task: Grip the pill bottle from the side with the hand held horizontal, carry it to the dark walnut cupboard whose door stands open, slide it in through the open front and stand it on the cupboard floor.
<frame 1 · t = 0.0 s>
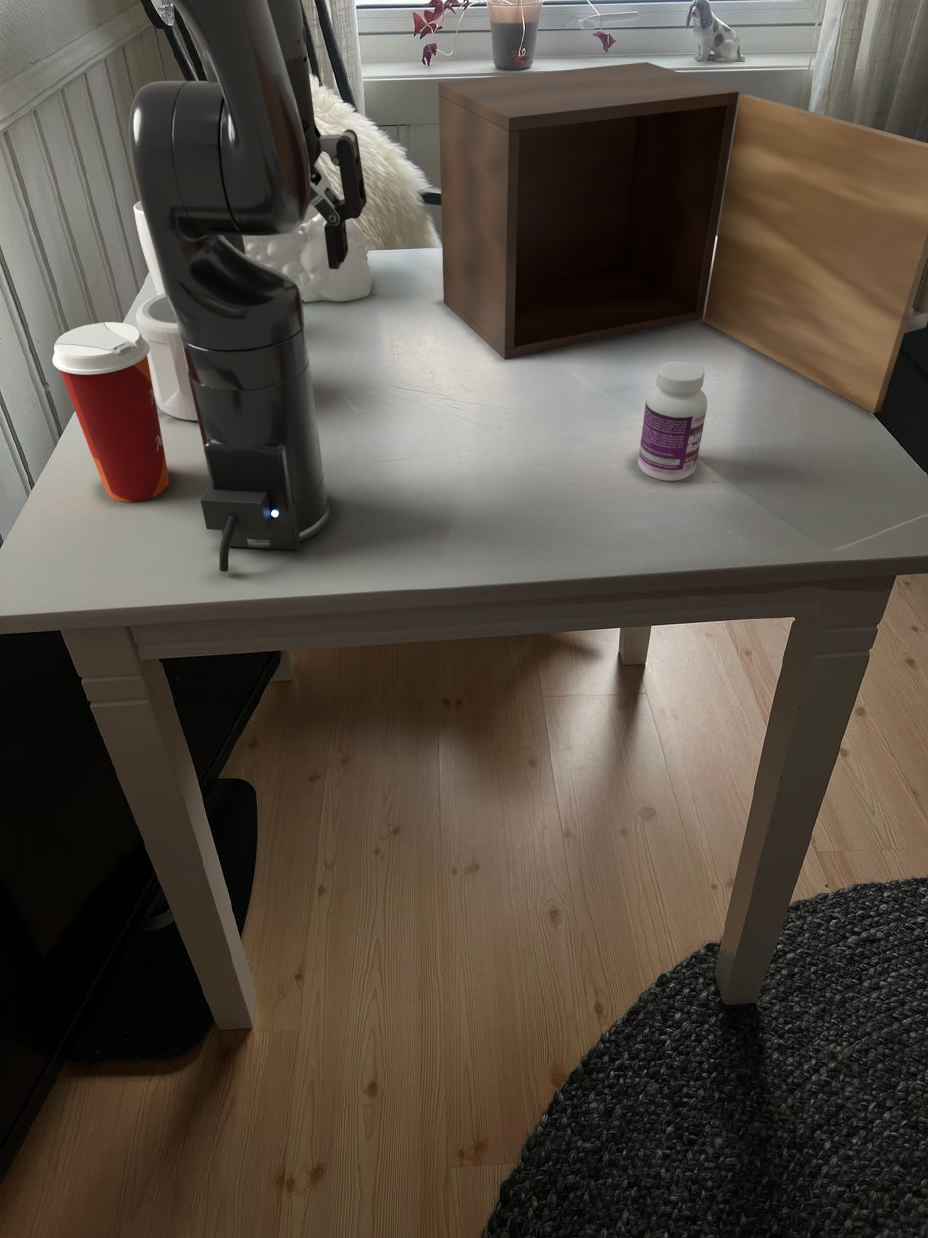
hand: (287, 263, 80), 17 cm above the table, tool pointing down, fingers open, 8 cm apart
mug: (202, 396, 99), on the table
cabinet: (570, 311, 115), on the table
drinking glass: (192, 338, 110), on the table
cauliflower: (293, 290, 121), on the table
pill bottle: (666, 469, 87), on the table
paper cup: (137, 486, 85), on the table
cabinet door: (830, 246, 96), point 12 cm above the table, hinge at 95.0°
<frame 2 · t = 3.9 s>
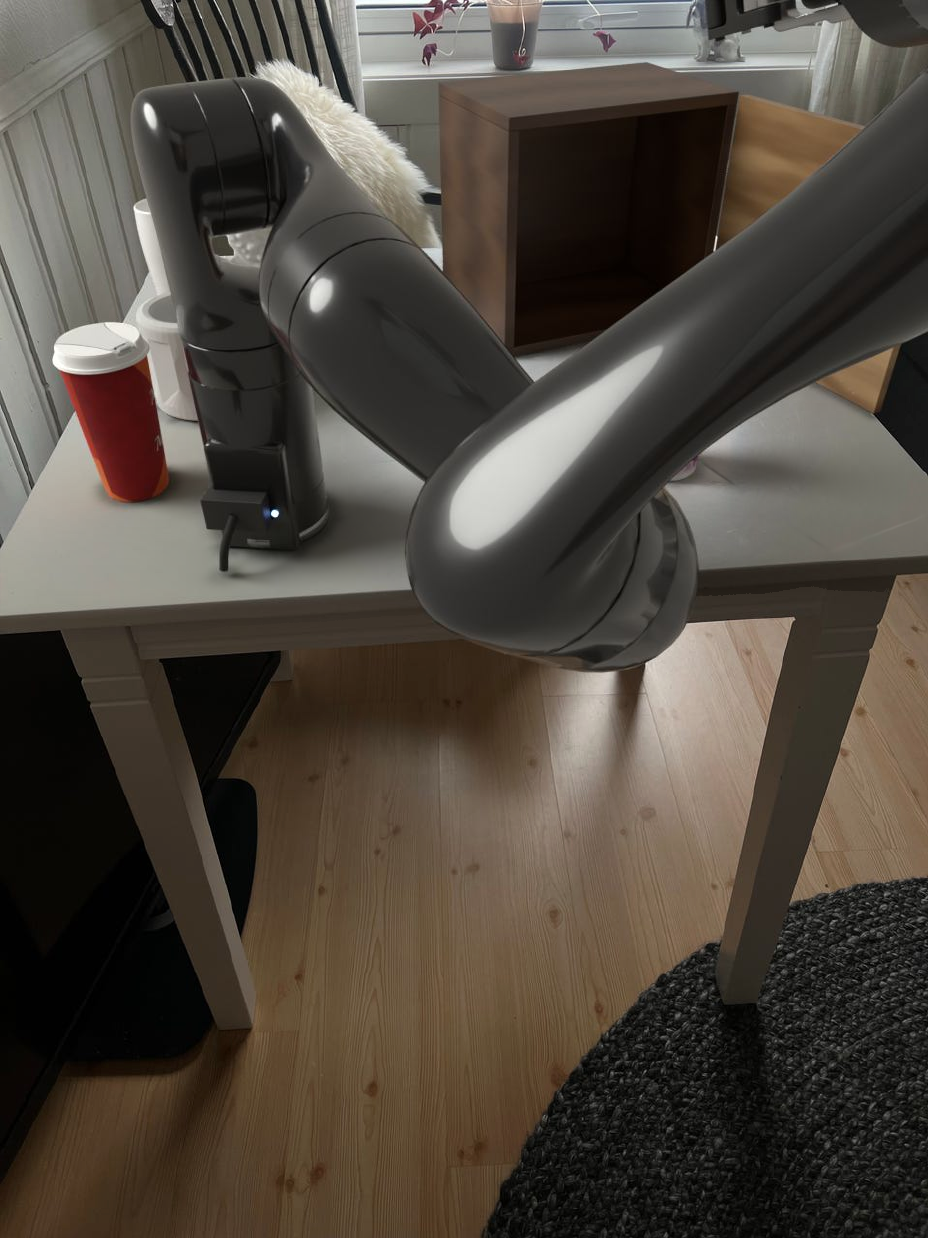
nothing on the table moved.
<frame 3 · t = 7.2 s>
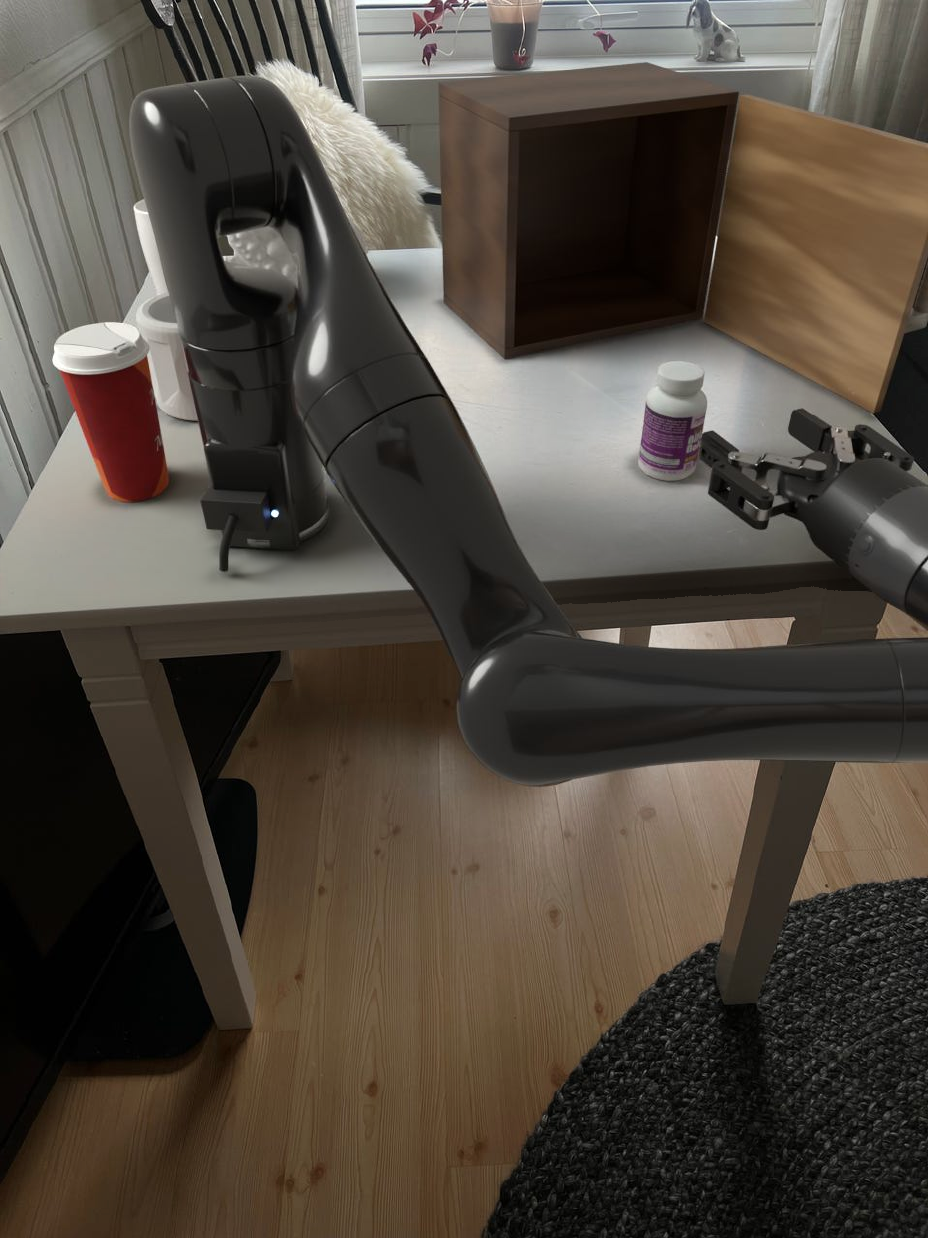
hand: (749, 430, 74), 9 cm above the table, tool horizontal, fingers open, 8 cm apart
nothing on the table moved.
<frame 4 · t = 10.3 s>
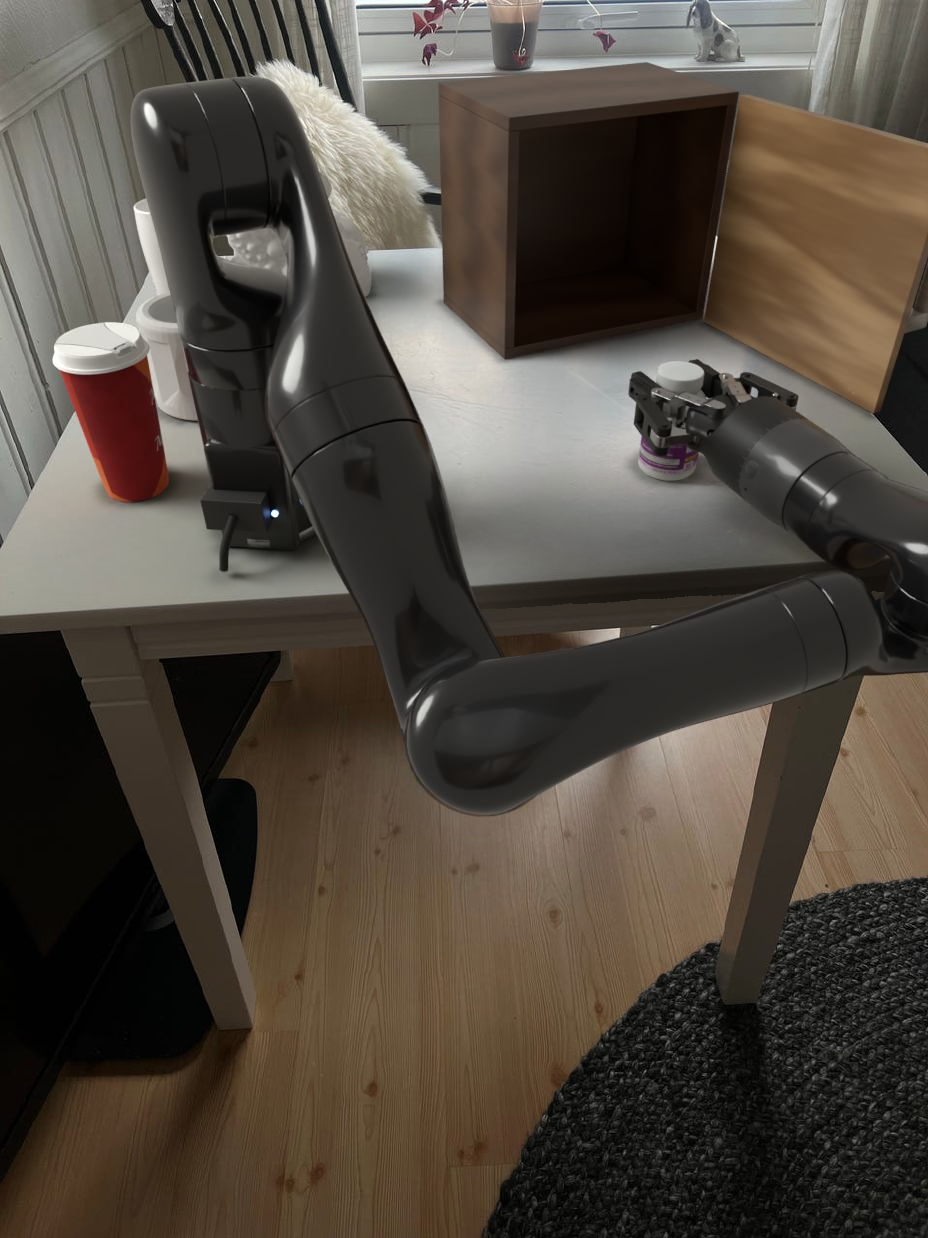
hand: (663, 375, 83), 8 cm above the table, tool horizontal, fingers closed on pill bottle, 5 cm apart
pill bottle: (666, 469, 87), on the table, touching gripper
everything else where it was.
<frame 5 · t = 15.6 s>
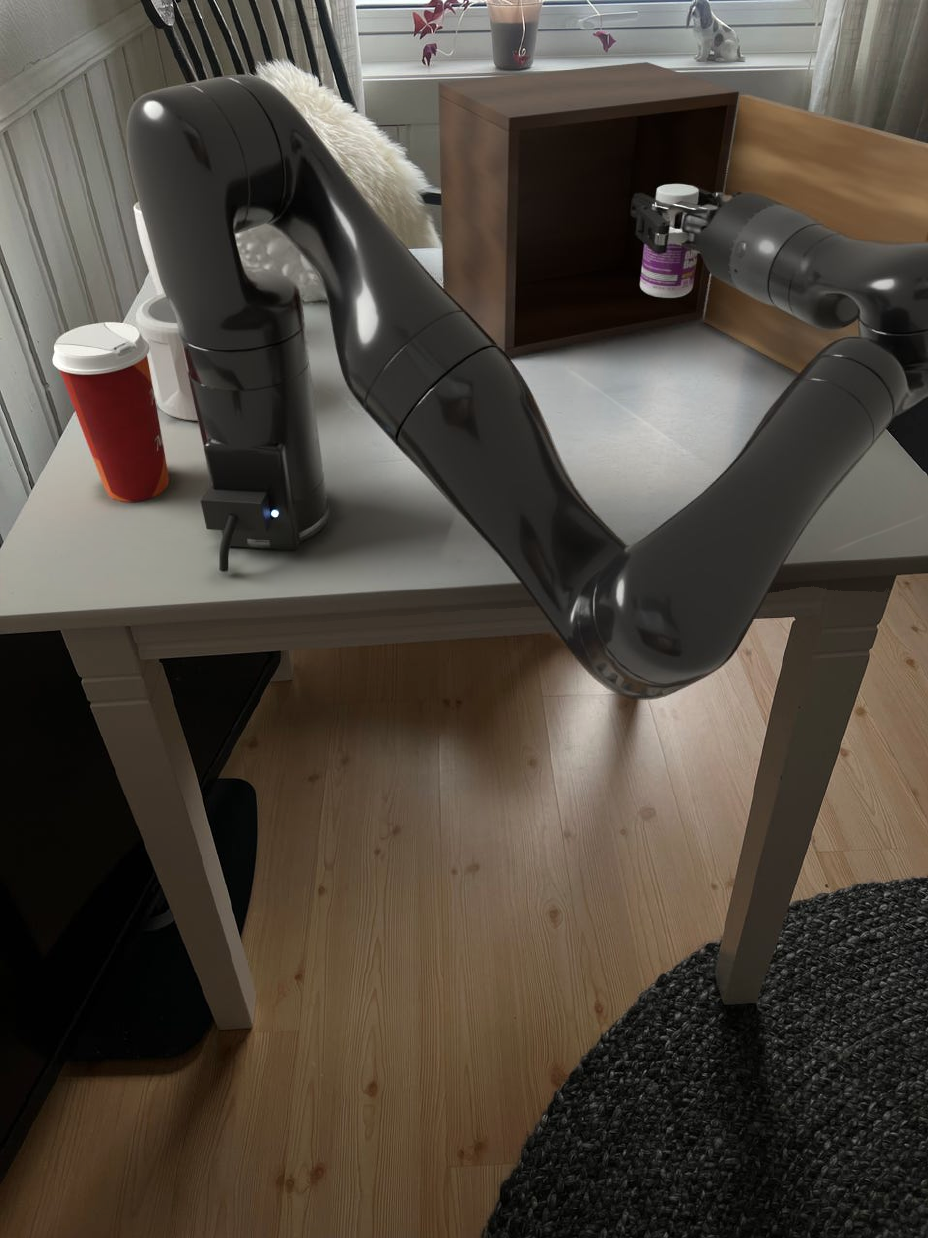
hand: (661, 199, 92), 17 cm above the table, tool horizontal, fingers closed on pill bottle, 5 cm apart
pill bottle: (665, 291, 95), point 9 cm above the table, touching gripper
everything else where it was.
when the fingers open (9 cm above the table, at t = 20.9 s): pill bottle stays where it is, resting on cabinet.
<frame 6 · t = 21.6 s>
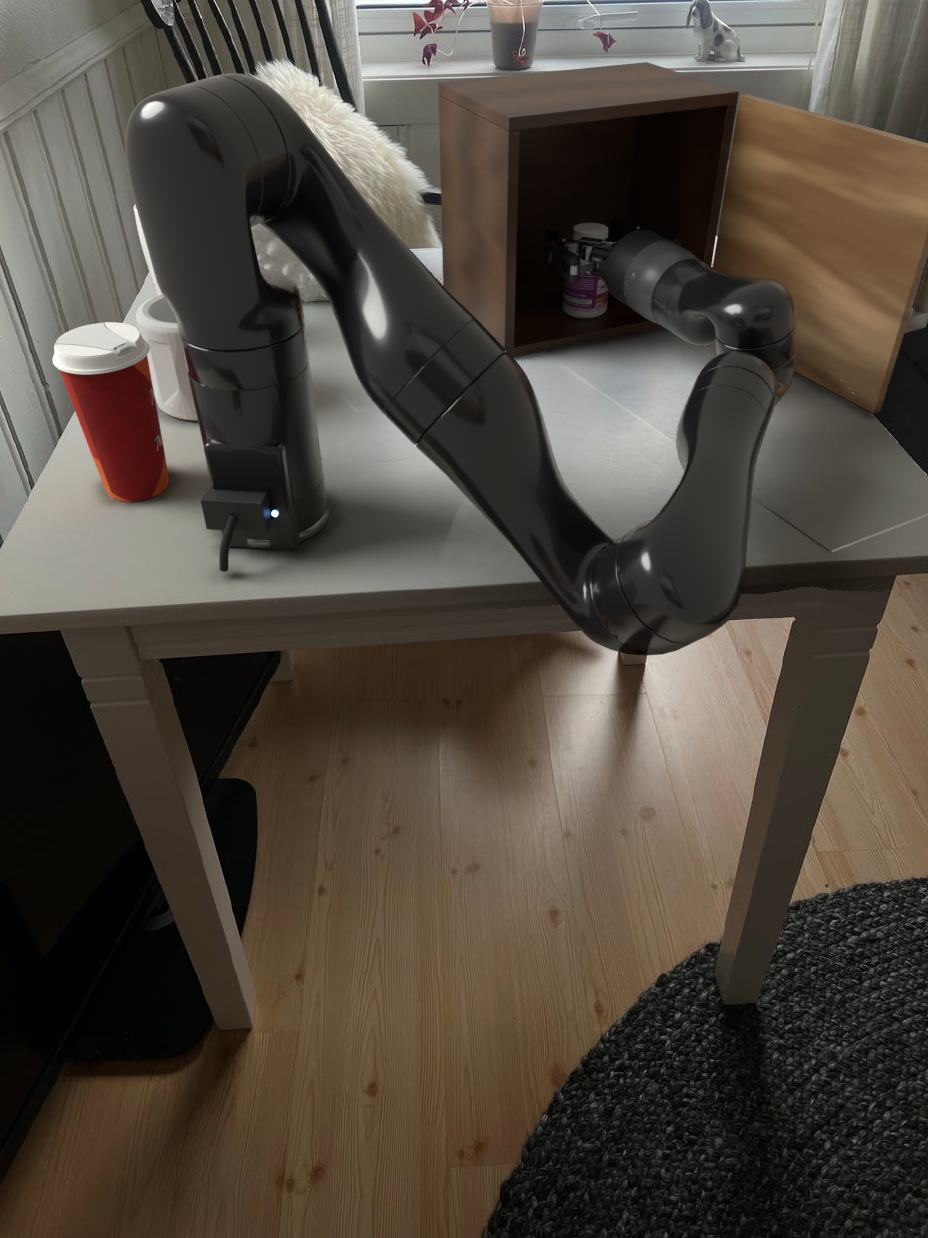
hand: (581, 232, 108), 10 cm above the table, tool horizontal, fingers open, 8 cm apart
pill bottle: (584, 312, 112), point 1 cm above the table, touching cabinet
everything else where it was.
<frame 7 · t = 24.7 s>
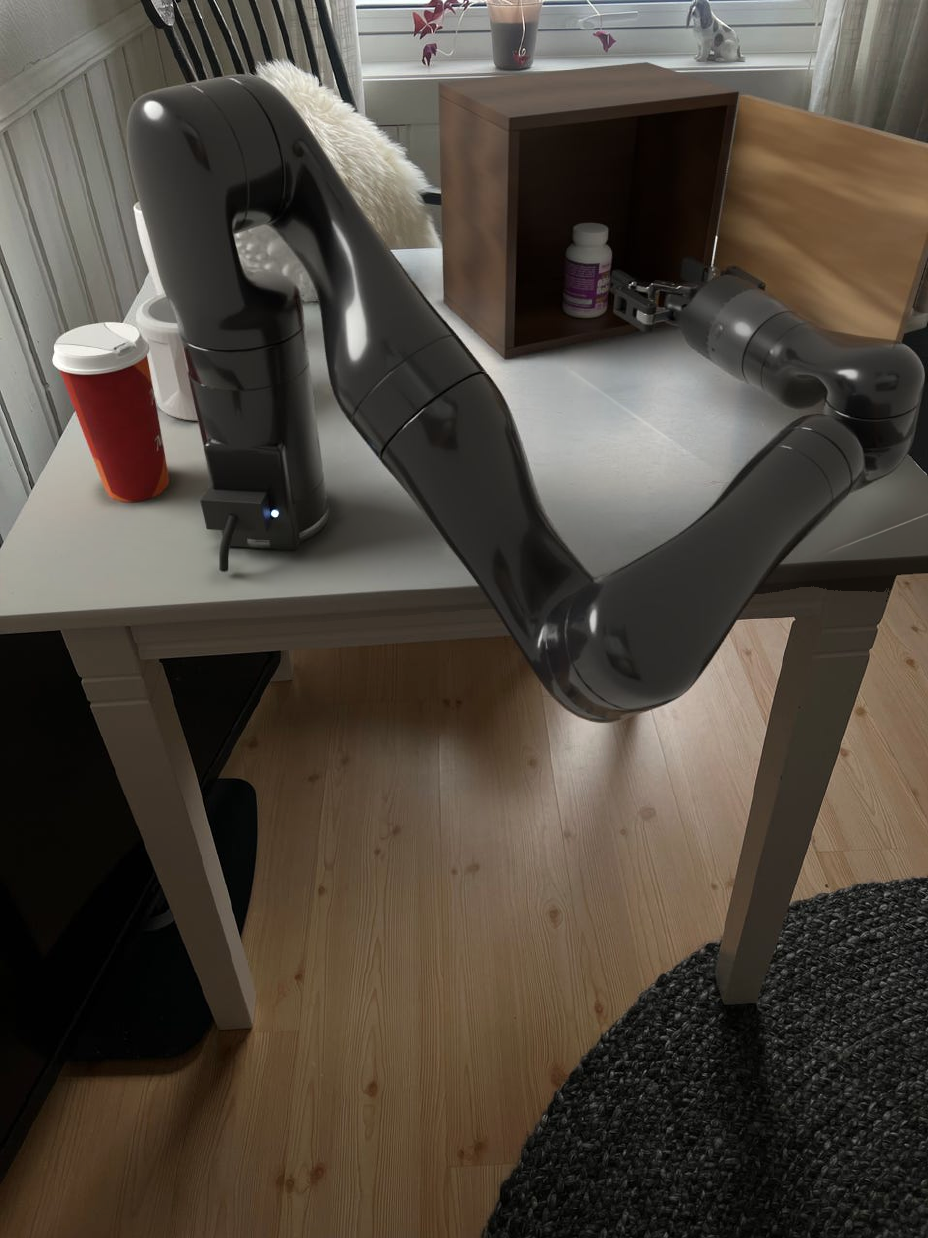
hand: (649, 272, 97), 10 cm above the table, tool horizontal, fingers open, 8 cm apart
nothing on the table moved.
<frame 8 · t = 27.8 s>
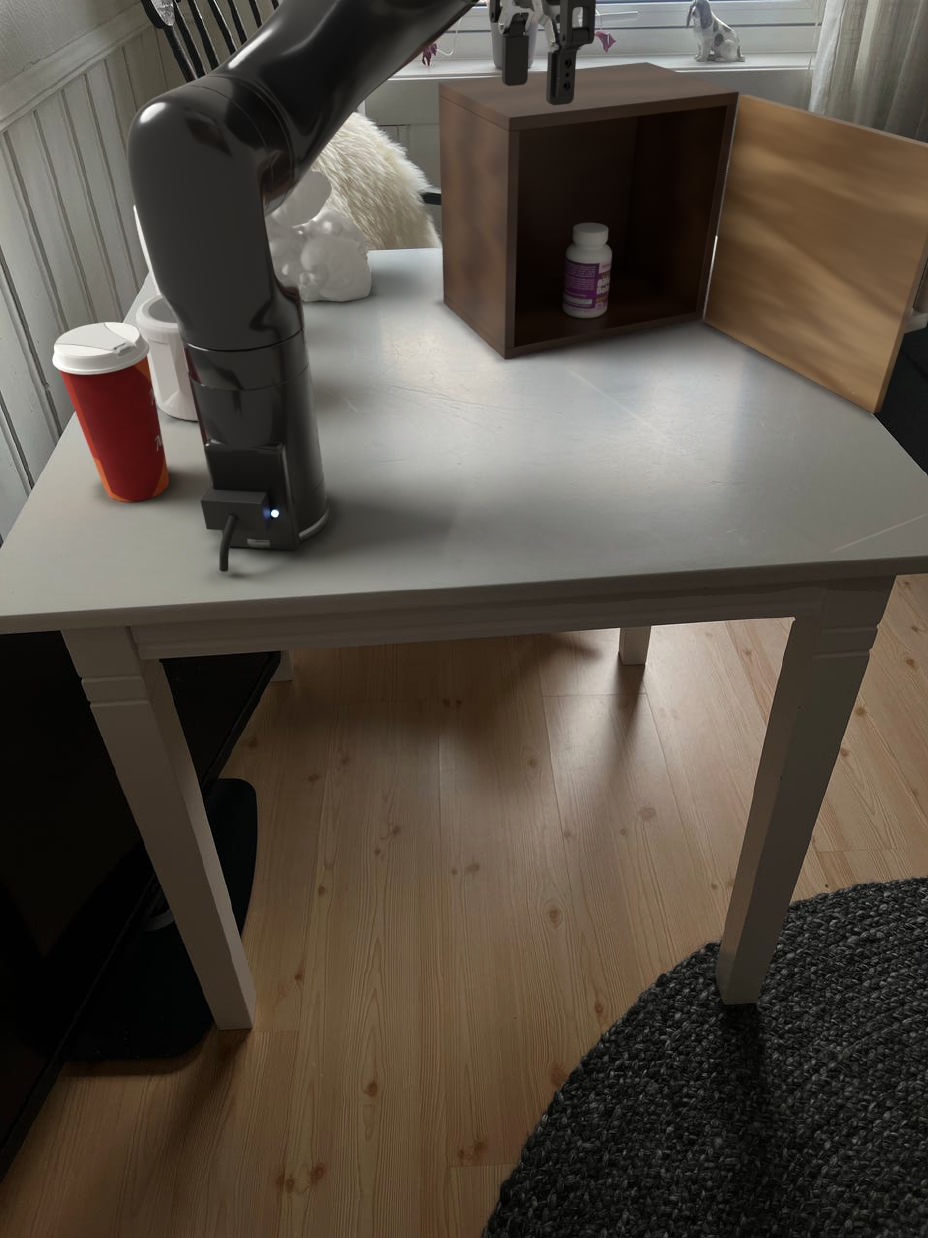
hand: (536, 93, 80), 28 cm above the table, tool pointing down, fingers open, 8 cm apart
nothing on the table moved.
at the end: pill bottle inside the target area in the cabinet (3.2 cm from its centre), point 1.0 cm above the cabinet's base; pill bottle tilted 0°; the gripper is holding nothing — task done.
